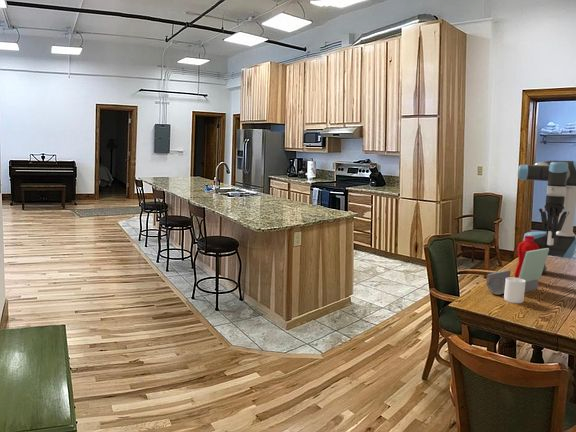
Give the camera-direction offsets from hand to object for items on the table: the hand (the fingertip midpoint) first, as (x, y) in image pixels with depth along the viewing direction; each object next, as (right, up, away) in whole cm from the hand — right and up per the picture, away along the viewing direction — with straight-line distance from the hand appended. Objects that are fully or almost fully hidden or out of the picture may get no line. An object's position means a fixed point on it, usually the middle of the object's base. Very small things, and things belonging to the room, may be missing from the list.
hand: (550, 244), depth 212 cm
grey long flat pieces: (-9, -23, +19) cm, 31 cm away
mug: (-18, -21, +14) cm, 31 cm away
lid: (-4, -11, +8) cm, 14 cm away
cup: (-17, -26, 0) cm, 31 cm away
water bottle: (+4, -22, +31) cm, 38 cm away
